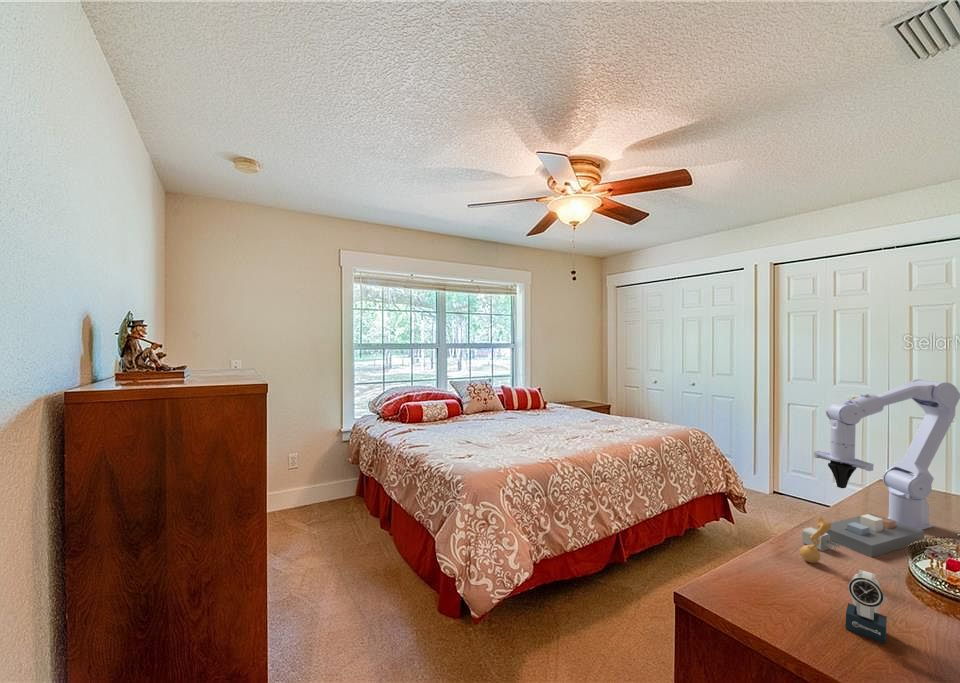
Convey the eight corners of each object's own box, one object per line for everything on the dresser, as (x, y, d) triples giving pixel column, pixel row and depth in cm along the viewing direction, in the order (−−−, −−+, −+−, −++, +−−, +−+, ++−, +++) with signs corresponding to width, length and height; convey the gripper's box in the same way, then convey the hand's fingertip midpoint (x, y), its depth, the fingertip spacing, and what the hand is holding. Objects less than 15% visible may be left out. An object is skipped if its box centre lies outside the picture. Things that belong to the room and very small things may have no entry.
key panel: (870, 523, 127) (871, 513, 126) (924, 541, 115) (924, 530, 115) (819, 536, 118) (819, 525, 118) (871, 557, 107) (871, 545, 107)
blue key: (854, 534, 117) (854, 522, 117) (869, 540, 114) (869, 527, 114) (846, 536, 116) (846, 523, 116) (861, 542, 112) (861, 529, 112)
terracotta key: (880, 527, 121) (880, 515, 121) (895, 533, 118) (895, 520, 118) (873, 529, 120) (873, 517, 120) (887, 535, 117) (888, 522, 117)
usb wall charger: (811, 541, 115) (811, 526, 115) (841, 553, 109) (841, 538, 109) (802, 543, 114) (802, 529, 114) (832, 556, 107) (832, 540, 107)
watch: (844, 633, 79) (845, 576, 79) (848, 614, 85) (849, 560, 85) (885, 650, 75) (887, 589, 75) (887, 628, 81) (888, 572, 81)
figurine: (807, 553, 109) (808, 507, 108) (836, 564, 103) (837, 516, 103) (793, 562, 104) (794, 515, 104) (823, 574, 99) (824, 524, 99)
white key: (867, 526, 119) (867, 514, 119) (882, 531, 116) (882, 519, 116) (860, 528, 118) (860, 515, 118) (875, 533, 114) (875, 520, 114)
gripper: (808, 438, 133) (807, 480, 133) (863, 450, 119) (862, 497, 119) (822, 436, 135) (821, 478, 136) (878, 448, 122) (877, 494, 122)
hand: (841, 487), depth 128 cm, fingers closed
